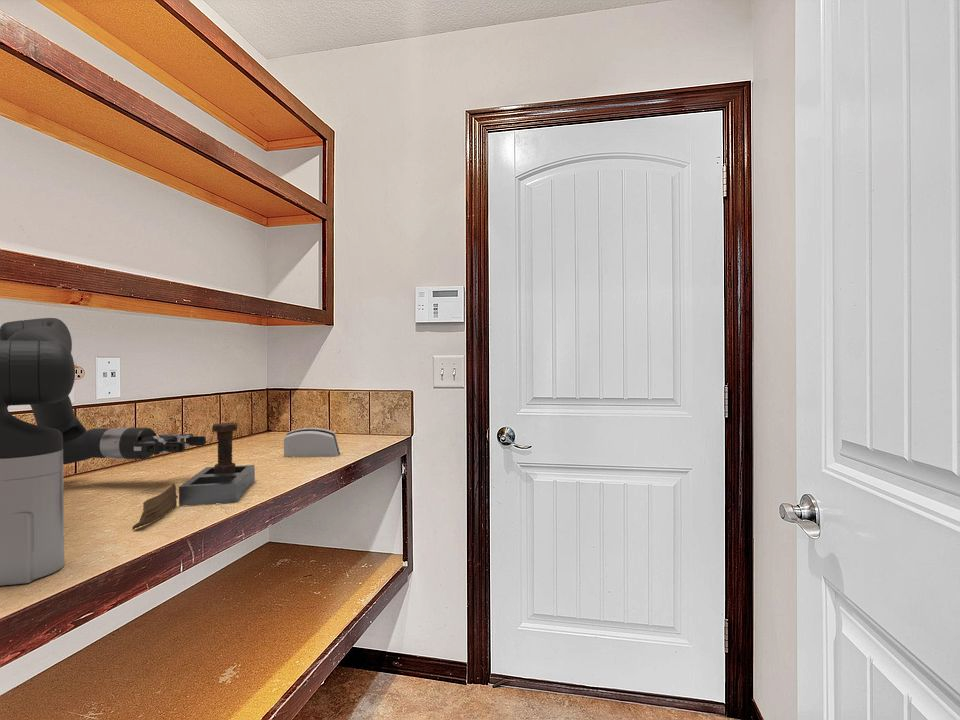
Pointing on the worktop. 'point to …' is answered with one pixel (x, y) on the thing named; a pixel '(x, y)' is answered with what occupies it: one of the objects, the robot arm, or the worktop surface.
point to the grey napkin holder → (311, 443)
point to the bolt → (224, 447)
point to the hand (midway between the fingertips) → (194, 443)
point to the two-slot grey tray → (216, 486)
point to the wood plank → (158, 506)
